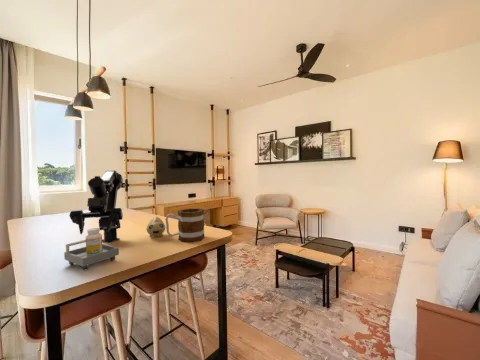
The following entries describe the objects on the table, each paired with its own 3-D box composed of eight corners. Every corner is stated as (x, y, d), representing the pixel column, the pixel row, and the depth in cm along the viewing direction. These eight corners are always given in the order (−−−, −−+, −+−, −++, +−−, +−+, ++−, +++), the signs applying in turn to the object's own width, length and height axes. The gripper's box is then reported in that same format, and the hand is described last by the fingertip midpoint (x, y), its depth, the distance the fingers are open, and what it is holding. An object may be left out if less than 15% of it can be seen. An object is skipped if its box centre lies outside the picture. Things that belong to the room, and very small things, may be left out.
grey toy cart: (64, 264, 87) (63, 244, 87) (99, 254, 99) (99, 236, 98) (83, 272, 80) (82, 250, 80) (119, 259, 91) (118, 240, 91)
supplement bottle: (94, 251, 93) (92, 227, 92) (106, 251, 92) (104, 227, 92) (83, 255, 87) (81, 230, 87) (95, 256, 87) (94, 230, 86)
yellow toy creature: (146, 240, 117) (145, 220, 117) (146, 235, 128) (146, 216, 128) (166, 238, 121) (165, 218, 120) (165, 233, 132) (164, 214, 132)
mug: (203, 234, 128) (203, 207, 127) (205, 241, 115) (205, 211, 114) (167, 237, 123) (166, 209, 123) (164, 244, 110) (163, 214, 110)
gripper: (69, 191, 93) (60, 223, 83) (120, 189, 100) (117, 219, 90) (77, 207, 101) (69, 239, 91) (124, 204, 107) (121, 234, 97)
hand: (94, 232), depth 92 cm, fingers open, 9 cm apart
